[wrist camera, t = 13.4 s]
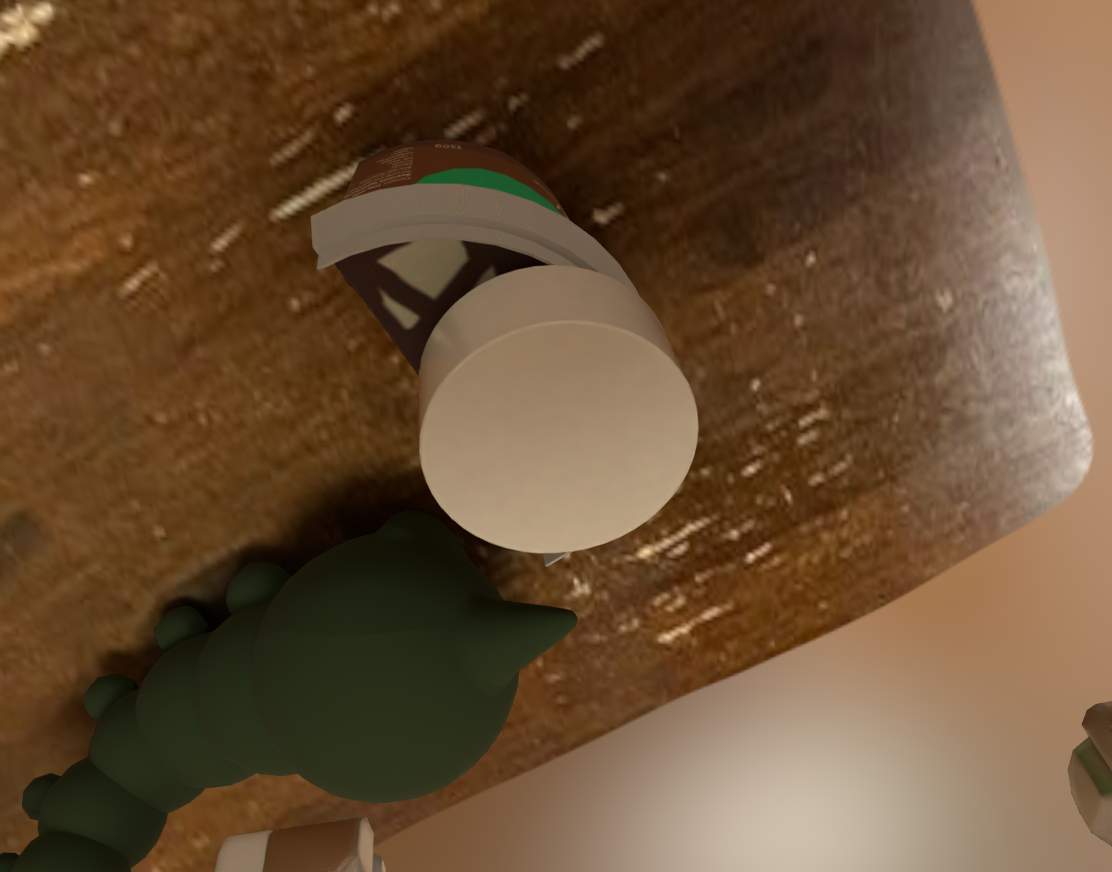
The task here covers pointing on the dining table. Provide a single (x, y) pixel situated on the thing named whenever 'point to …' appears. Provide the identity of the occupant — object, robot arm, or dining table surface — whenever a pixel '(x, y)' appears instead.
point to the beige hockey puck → (553, 411)
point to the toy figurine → (299, 693)
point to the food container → (445, 234)
